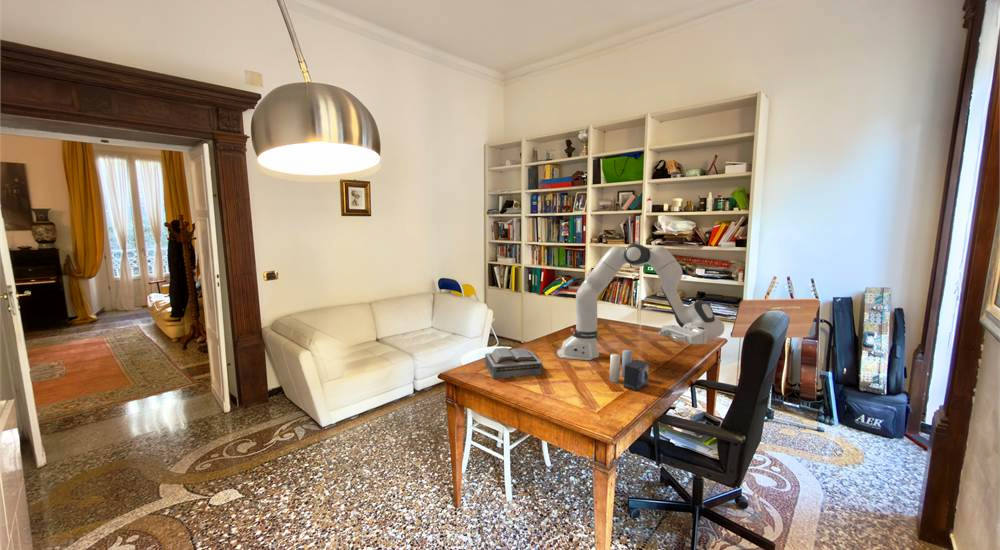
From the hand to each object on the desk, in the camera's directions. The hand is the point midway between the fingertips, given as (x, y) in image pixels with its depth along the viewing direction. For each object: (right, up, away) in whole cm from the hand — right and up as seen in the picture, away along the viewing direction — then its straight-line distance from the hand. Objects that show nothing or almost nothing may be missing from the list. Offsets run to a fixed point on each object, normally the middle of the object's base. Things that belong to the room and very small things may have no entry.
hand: (667, 336), depth 178 cm
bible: (-68, -20, +18) cm, 73 cm away
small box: (-15, -22, -2) cm, 26 cm away
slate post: (-15, -20, +10) cm, 27 cm away
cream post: (-22, -21, +4) cm, 31 cm away
